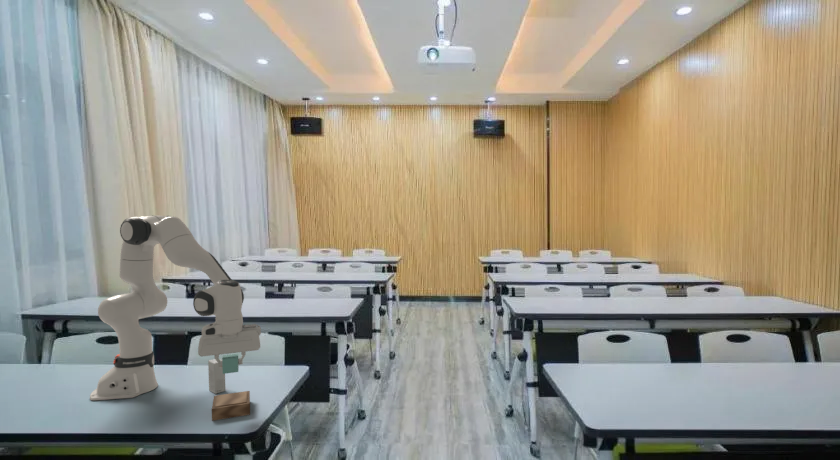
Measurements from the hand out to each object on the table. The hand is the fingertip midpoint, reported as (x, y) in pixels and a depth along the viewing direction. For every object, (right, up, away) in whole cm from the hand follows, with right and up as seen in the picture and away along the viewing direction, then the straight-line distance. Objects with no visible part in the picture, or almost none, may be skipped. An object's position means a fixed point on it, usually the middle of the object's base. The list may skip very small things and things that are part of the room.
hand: (230, 365), depth 160 cm
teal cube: (0, -2, 0) cm, 2 cm away
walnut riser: (0, -16, +1) cm, 16 cm away
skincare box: (-13, -16, +19) cm, 28 cm away
